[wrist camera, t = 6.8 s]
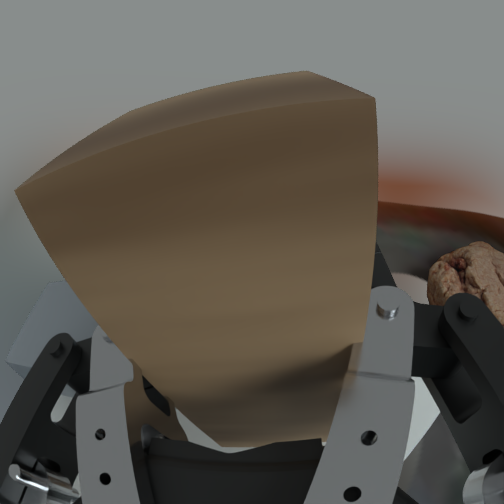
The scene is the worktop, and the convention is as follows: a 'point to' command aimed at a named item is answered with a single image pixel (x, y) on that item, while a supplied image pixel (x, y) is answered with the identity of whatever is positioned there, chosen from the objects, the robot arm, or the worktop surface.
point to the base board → (83, 326)
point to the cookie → (469, 276)
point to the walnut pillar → (226, 246)
